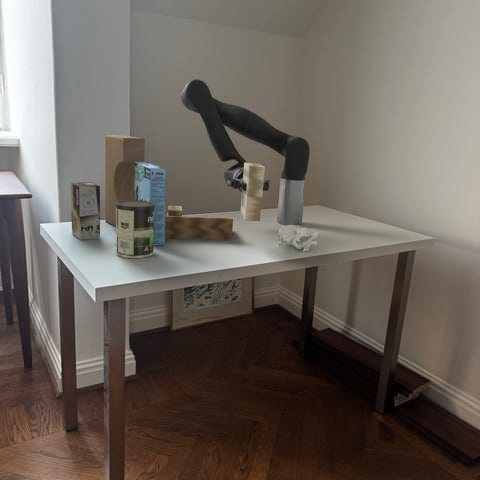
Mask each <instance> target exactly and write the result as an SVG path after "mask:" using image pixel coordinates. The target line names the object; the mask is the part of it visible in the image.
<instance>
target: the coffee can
mask: <svg viewBox="0 0 480 480" xmlns="http://www.w3.org/2000/svg"><path fill="white" fill-rule="evenodd" d="M154 207H155V204H154V203H152V202H148V201H138V200H128V201H119V202H116V227H115V229H116V230H115V237H116V238H115V240H116V241H115V243H116V244H115V247H116V248H115V249H116V250H115V254H116V255H117V256H118V257H121V258H125V259H145V258H149V257H152V256H153V255H154V254H155V253H154V245H153V237H154Z"/></svg>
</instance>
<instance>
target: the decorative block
mask: <svg viewBox="0 0 480 480" xmlns="http://www.w3.org/2000/svg"><path fill="white" fill-rule="evenodd" d="M145 140H146V139H145V138H142V137H138V136H137V137H135V136H129V135H119V134H118V135H116V134H106V135H105V147H104V148H105V159H104V160H105V165H104V166H105V222H106V223H108V224H110V225H112V226H114V227H115V228H116V202H119V201H128V200H135V162H145V146H146V145H145V144H146V142H145Z"/></svg>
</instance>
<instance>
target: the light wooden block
mask: <svg viewBox="0 0 480 480" xmlns="http://www.w3.org/2000/svg"><path fill="white" fill-rule="evenodd" d="M265 169H266V167H265V166H264V165H262V164H261V163H256V162H255V163H254V162H247V163H244V174H243V179H244V182H245V183H247V188H246V191H244V190H242V192H241V201H240V212H239V214H240V216H241V218H242V219H244V221H245V222H246V221H250V222H251V221H253V222H261V215H262V214H261V212H262V203H263V193H264V191H263V183H264V182H265V172H266V171H265Z"/></svg>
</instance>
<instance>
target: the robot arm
mask: <svg viewBox="0 0 480 480" xmlns="http://www.w3.org/2000/svg"><path fill="white" fill-rule="evenodd" d="M180 101H181V102H182V105H183V106H184V107H185V108H186V109H188V110H189V111H192V112H194V113H196V114H199V116H200V117H201V119H202V122H203V124H204V126H205V129H206V132H207V135H208V139H209V141H210V144H211V146H212V148H213V149H214V152H215V153H216V155H217V157H218V159H219V161H220V162H221V163H227V162H230V161H236V162H237V163H236V164H234V165H232V166H230V167H228V168H227V169H226V170H224V173H223V179H224V181H225V182H226V184H227V187H230V188H232V189H234V190H236V189H237V190H238V191H239V192H241V193H242V190H244V191H246V188H247V183H245V182H244V179H243V174H244V163H248V161H246V160H245V158H244V157H243V156H242V155H241V154H240V153H239V151H238V150H237V149H236V146H235V144H234V143H233V141H232V139H231V137H230V135H229V133H228V131H227V130H226V128H227V129H230V130H232V131H233V132H235V133H236V134H238V135H241V136H242V137H244V138H246V139H249V140H251V141H252V142H256V143H259V144H261V145H263V146H267V147H268V148H270V149H272V151H273V150H274V151H275V152H276V153H278V154H279V155H280V156H282V157H284V158H285V159H284V165H283V169H282V170H281V172H280V183H279V191H278V193H279V194H278V206H277V216H276V222H277V223H278V224H281V225H296V226H299V225H303V214H304V207H305V204H304V203H305V200H304V199H303V198H304V189H305V182H306V181H305V180H306V176H307V175H306V174H307V172H308V169H309V167H308V166H309V162H310V161H309V160H310V151H311V150H310V149H311V148H310V144H309V142H308V141H307V140H306V139H305V138H303V137H300V136H295V135H291V134H288V133H286V132H284V131H282V130H279V129H277V128H275V127H274V126H273V125H272V124H271V123H270V122H268V121H267V120H266V119H264V118H263V117H262V116H260V115H259V114H257V113H255V112H253V111H251V110H250V109H248V108H245V107H242V106H239V105H235V104H232V103H226V102H223V101H220V100H218V99H217V98H215V97H213V96H212V93H211V90H210V87H209V85H207V83H206V82H205V81H204V80H201V79H199V78H197V79H196V78H195V79H192V80H189V82H187V83H186V84H185V86H184V88H183V90H182V91H181V94H180ZM270 185H271V181H270V180H269V179H267V180H264V183H263V192H265V191H267V192H268V191H269V190H270Z"/></svg>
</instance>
